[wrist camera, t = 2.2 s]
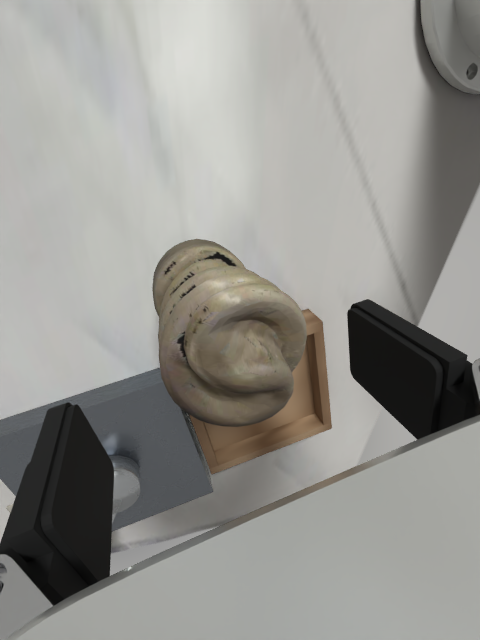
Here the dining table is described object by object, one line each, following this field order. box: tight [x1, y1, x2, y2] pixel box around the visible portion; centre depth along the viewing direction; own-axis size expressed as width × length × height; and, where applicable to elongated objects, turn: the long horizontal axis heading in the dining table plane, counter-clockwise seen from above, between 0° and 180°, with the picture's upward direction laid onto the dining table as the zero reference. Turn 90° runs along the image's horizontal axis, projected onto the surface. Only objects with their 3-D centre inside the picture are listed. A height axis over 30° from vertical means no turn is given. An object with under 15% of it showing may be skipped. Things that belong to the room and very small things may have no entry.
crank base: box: [0, 368, 213, 531], centre depth 28 cm, size 15×14×2 cm
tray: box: [189, 309, 332, 474], centre depth 29 cm, size 12×12×2 cm
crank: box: [109, 456, 140, 523], centre depth 25 cm, size 11×4×8 cm, turn 157°
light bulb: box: [153, 239, 307, 427], centre depth 17 cm, size 6×6×15 cm
